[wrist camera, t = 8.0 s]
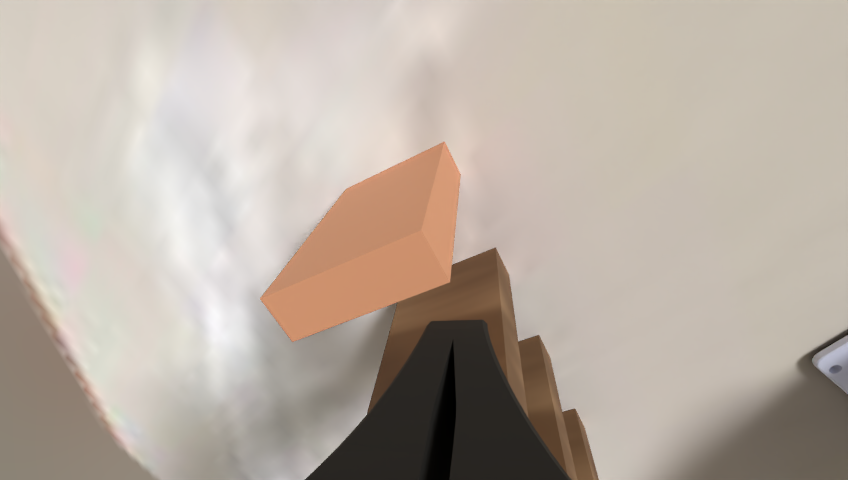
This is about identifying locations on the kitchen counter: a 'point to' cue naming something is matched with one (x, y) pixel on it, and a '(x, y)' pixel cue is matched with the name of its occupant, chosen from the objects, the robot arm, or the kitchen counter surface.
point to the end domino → (372, 247)
